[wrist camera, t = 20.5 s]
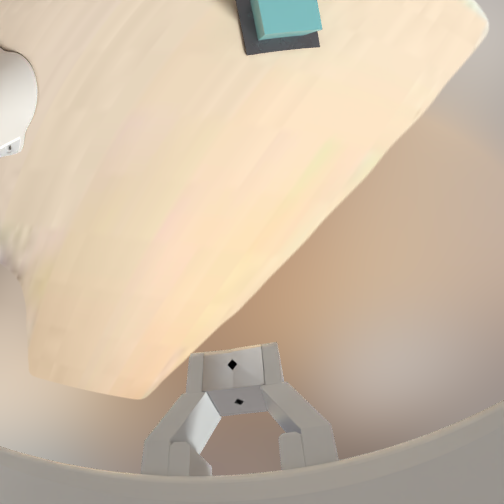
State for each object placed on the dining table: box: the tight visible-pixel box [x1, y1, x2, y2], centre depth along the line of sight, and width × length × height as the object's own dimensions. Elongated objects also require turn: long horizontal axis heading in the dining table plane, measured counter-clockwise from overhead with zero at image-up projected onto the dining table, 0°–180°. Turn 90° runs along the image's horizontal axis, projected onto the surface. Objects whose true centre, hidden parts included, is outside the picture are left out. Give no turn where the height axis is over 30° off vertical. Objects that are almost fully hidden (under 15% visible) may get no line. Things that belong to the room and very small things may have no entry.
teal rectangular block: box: [250, 0, 322, 40], centre depth 27 cm, size 6×6×9 cm
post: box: [236, 0, 320, 55], centre depth 28 cm, size 9×9×7 cm
